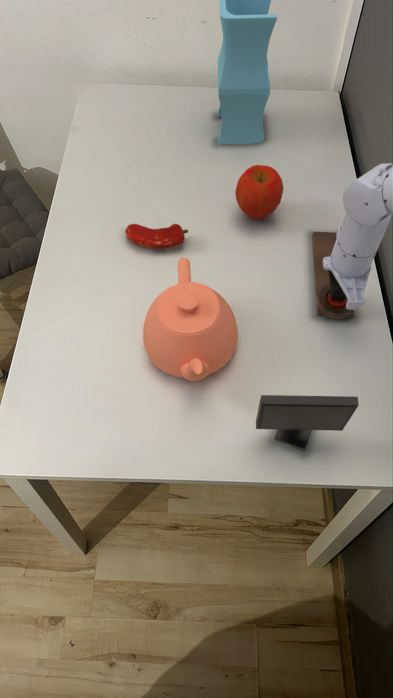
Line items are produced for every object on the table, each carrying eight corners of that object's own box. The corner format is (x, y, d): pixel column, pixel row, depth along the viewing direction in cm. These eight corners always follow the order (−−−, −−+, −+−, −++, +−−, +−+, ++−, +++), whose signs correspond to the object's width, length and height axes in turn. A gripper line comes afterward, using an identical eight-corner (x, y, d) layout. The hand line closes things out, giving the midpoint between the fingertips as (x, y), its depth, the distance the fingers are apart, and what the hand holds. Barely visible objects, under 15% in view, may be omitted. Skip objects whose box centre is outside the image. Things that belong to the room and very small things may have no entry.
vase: (264, 143, 106) (277, 17, 84) (217, 144, 106) (219, 18, 84) (261, 113, 111) (274, -13, 89) (217, 114, 111) (218, -12, 89)
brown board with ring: (353, 322, 83) (357, 314, 81) (316, 321, 84) (319, 312, 81) (345, 235, 93) (348, 226, 90) (311, 234, 93) (314, 225, 91)
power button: (345, 311, 83) (348, 306, 82) (326, 310, 83) (328, 305, 82) (344, 295, 85) (346, 290, 83) (325, 294, 85) (327, 289, 84)
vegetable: (187, 215, 91) (124, 220, 93) (184, 228, 87) (118, 234, 89) (191, 238, 94) (129, 242, 96) (188, 251, 90) (124, 256, 92)
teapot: (247, 403, 77) (253, 366, 66) (149, 414, 76) (139, 378, 66) (227, 288, 87) (230, 240, 77) (142, 297, 87) (132, 250, 76)
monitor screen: (342, 431, 69) (359, 405, 62) (255, 429, 70) (261, 404, 62) (341, 422, 70) (357, 396, 62) (255, 421, 70) (261, 394, 63)
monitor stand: (304, 451, 73) (312, 435, 67) (274, 439, 74) (279, 423, 68) (313, 423, 75) (321, 406, 69) (283, 412, 76) (289, 394, 70)
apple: (243, 238, 93) (246, 194, 84) (227, 207, 97) (228, 162, 88) (285, 226, 94) (293, 181, 85) (268, 196, 98) (274, 150, 89)
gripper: (324, 204, 75) (309, 263, 86) (335, 283, 67) (316, 334, 79) (372, 205, 74) (350, 263, 86) (388, 283, 67) (361, 335, 79)
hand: (337, 297), depth 83 cm, fingers closed, pressing on power button
